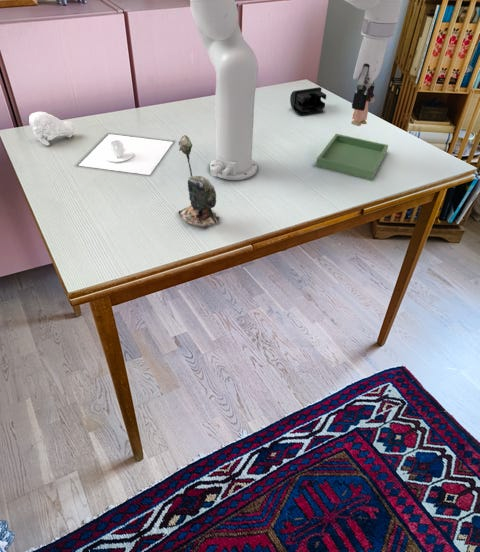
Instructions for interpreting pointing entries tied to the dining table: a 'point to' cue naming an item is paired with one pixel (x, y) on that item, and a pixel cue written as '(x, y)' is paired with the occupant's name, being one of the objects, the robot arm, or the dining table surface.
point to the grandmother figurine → (362, 115)
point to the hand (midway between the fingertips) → (361, 104)
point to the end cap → (307, 101)
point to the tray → (352, 156)
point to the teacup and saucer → (127, 154)
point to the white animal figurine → (49, 126)
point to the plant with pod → (198, 195)
